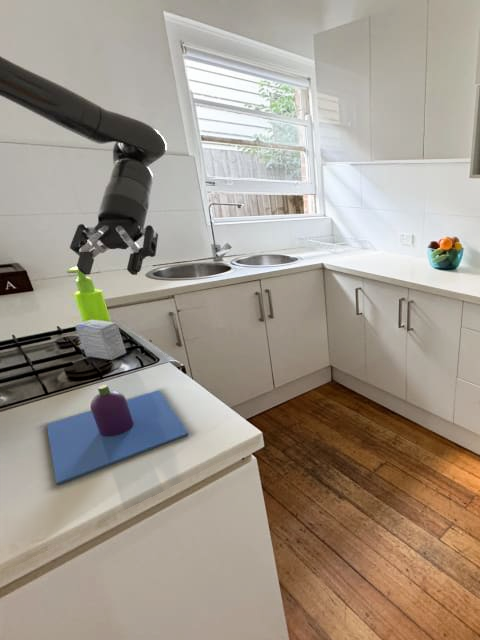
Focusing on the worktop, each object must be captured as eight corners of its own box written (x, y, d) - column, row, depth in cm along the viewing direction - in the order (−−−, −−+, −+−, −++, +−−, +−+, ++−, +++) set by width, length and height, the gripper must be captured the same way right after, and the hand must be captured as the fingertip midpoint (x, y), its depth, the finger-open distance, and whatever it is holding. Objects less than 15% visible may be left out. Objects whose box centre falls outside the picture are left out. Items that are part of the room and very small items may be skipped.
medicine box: (127, 353, 98) (117, 322, 94) (111, 361, 94) (100, 328, 90) (102, 349, 100) (92, 318, 96) (85, 357, 96) (74, 324, 92)
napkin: (47, 425, 70) (46, 423, 70) (159, 391, 82) (158, 390, 82) (57, 485, 57) (56, 483, 57) (188, 434, 69) (188, 432, 69)
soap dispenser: (82, 343, 103) (56, 270, 95) (96, 333, 109) (73, 264, 101) (106, 342, 104) (83, 269, 96) (119, 332, 110) (98, 263, 102)
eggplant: (93, 437, 67) (77, 395, 63) (110, 420, 71) (96, 380, 68) (124, 435, 67) (109, 393, 64) (139, 419, 72) (126, 379, 68)
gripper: (75, 191, 75) (52, 261, 69) (152, 193, 77) (136, 262, 71) (100, 217, 82) (81, 282, 76) (170, 218, 84) (157, 282, 78)
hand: (108, 272), depth 74 cm, fingers open, 8 cm apart
